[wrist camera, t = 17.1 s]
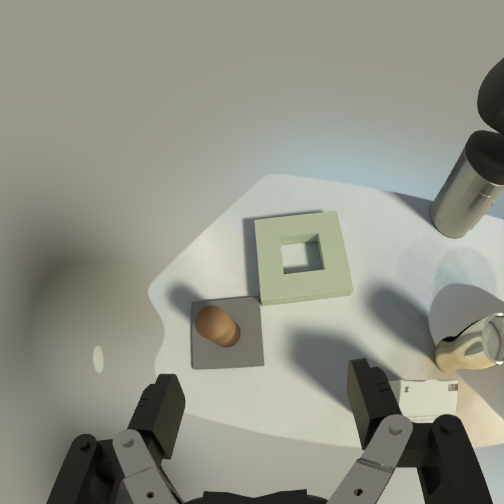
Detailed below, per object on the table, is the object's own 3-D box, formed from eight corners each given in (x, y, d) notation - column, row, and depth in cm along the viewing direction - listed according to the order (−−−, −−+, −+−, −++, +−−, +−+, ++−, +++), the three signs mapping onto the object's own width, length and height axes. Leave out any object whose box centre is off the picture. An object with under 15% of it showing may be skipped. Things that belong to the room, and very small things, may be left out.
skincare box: (360, 419, 38) (389, 432, 25) (365, 381, 41) (397, 378, 27) (410, 419, 37) (454, 428, 23) (414, 382, 39) (461, 377, 26)
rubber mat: (258, 297, 48) (258, 296, 48) (264, 365, 44) (263, 365, 43) (192, 303, 49) (191, 302, 49) (194, 369, 45) (193, 369, 44)
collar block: (334, 219, 53) (336, 210, 50) (349, 295, 47) (353, 289, 44) (256, 228, 54) (254, 219, 51) (262, 305, 48) (261, 300, 45)
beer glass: (453, 326, 42) (502, 300, 28) (471, 358, 38) (524, 342, 25) (425, 349, 41) (472, 331, 27) (443, 383, 38) (495, 376, 24)
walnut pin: (239, 318, 47) (227, 303, 39) (241, 346, 45) (229, 337, 37) (212, 321, 47) (194, 307, 39) (213, 348, 45) (195, 340, 37)
